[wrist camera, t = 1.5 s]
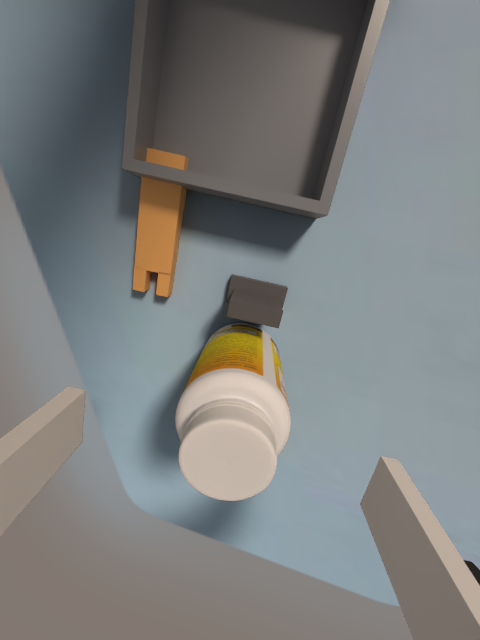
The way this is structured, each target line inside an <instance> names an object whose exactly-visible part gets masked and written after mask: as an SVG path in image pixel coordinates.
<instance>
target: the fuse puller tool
mask: <svg viewBox="0 0 480 640" xmlns="http://www.w3.org/2000/svg"><path fill="white" fill-rule="evenodd" d="M146 162H150V163H155V164H159V165H164V166H168V167H172V168H177V169H181V170H186V171H187V166H188V158H187V157H186V156H182V155H178V154H173V153H169V152H165V151H160V150H156V149H152V148H147V156H146ZM186 192H187V189H185V188H184V187H182V186H180V185H175V184H171V183H166V182H162V181H158V180H153V179H149V178H144V177H141V190H140V202H139V215H138V228H137V240H136V253H135V265H134V278H133V290H137V291H141V292H145V291H147V290H148V289H150V281H151V272H156V273H158V281H157V290H156V295H160V296H164V297H169V296H170V295H171V294H172V288H173V281H174V274H175V268H176V261H177V254H178V247H179V240H180V233H181V226H182V219H183V213H184V206H185V199H186Z"/></svg>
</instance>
